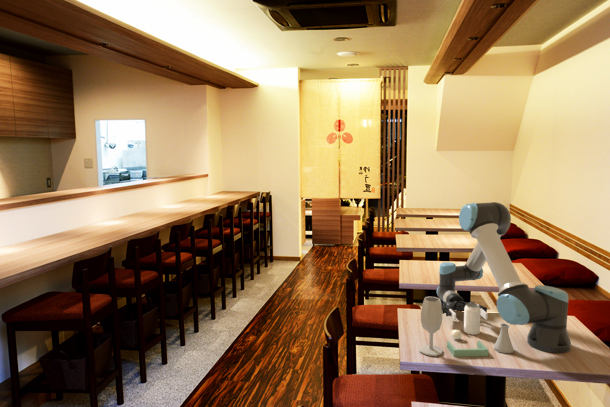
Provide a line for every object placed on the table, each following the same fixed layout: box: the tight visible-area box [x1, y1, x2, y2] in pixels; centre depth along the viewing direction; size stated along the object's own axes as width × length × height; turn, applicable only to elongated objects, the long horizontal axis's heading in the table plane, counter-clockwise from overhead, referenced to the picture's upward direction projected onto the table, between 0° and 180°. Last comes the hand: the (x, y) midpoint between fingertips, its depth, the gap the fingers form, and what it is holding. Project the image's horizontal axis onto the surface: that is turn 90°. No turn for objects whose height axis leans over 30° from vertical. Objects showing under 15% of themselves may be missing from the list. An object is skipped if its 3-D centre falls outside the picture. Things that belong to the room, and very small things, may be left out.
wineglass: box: [419, 296, 444, 357], centre depth 170 cm, size 9×9×21 cm
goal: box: [446, 340, 489, 358], centre depth 171 cm, size 8×13×2 cm, turn 91°
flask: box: [493, 323, 515, 354], centre depth 172 cm, size 7×7×10 cm
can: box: [463, 302, 481, 336], centre depth 189 cm, size 6×6×12 cm
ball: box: [451, 329, 463, 341], centre depth 182 cm, size 4×4×4 cm
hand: (471, 317), depth 189 cm, fingers open, 13 cm apart
